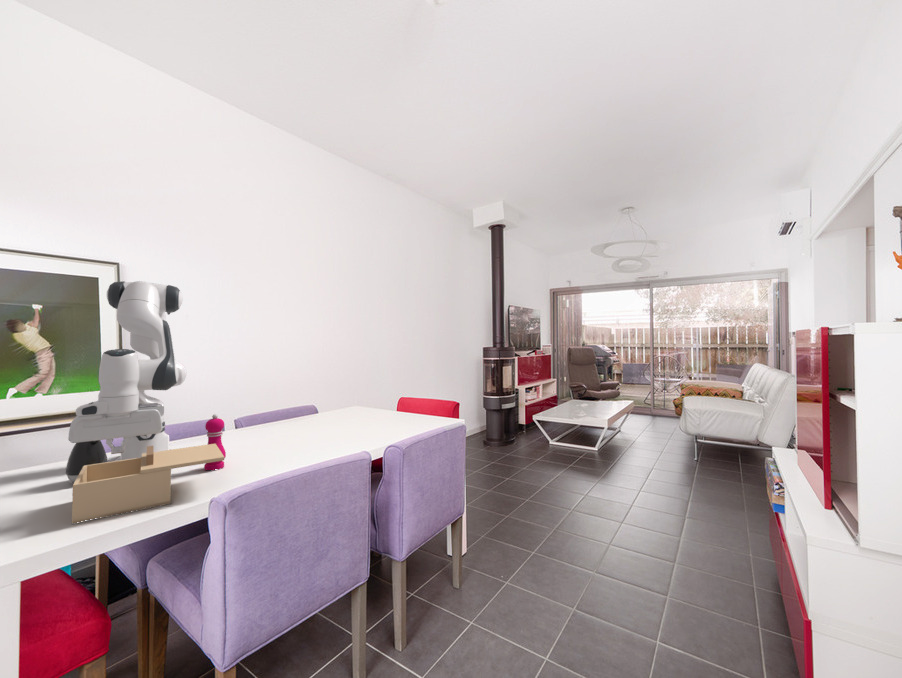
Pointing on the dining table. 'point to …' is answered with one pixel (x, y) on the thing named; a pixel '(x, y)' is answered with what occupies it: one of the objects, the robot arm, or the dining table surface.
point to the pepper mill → (215, 440)
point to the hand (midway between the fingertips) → (118, 453)
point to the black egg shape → (84, 457)
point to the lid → (179, 457)
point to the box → (118, 489)
